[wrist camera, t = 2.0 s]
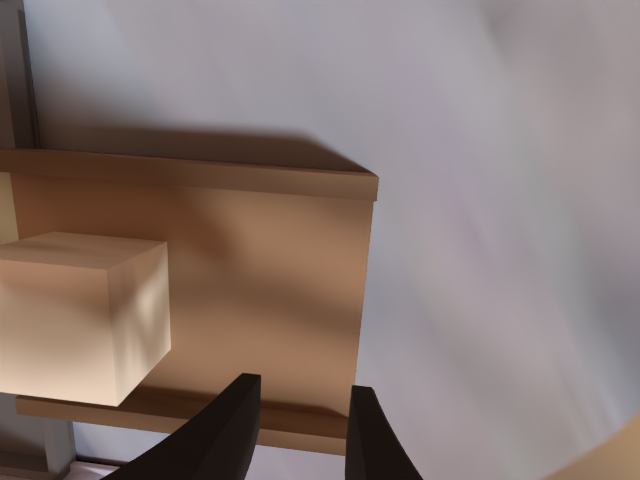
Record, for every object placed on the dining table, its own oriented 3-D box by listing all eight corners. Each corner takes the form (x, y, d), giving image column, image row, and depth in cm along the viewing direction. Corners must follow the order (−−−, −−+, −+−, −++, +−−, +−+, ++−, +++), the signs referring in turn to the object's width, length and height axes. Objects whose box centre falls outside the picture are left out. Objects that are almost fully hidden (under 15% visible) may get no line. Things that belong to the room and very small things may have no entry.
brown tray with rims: (348, 416, 22) (347, 481, 18) (-119, 360, 24) (-223, 405, 20) (375, 153, 18) (382, 152, 14) (-182, 114, 20) (-328, 103, 16)
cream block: (170, 348, 19) (117, 406, 15) (66, 337, 19) (-17, 389, 15) (167, 241, 18) (106, 269, 13) (53, 231, 18) (-42, 255, 14)
